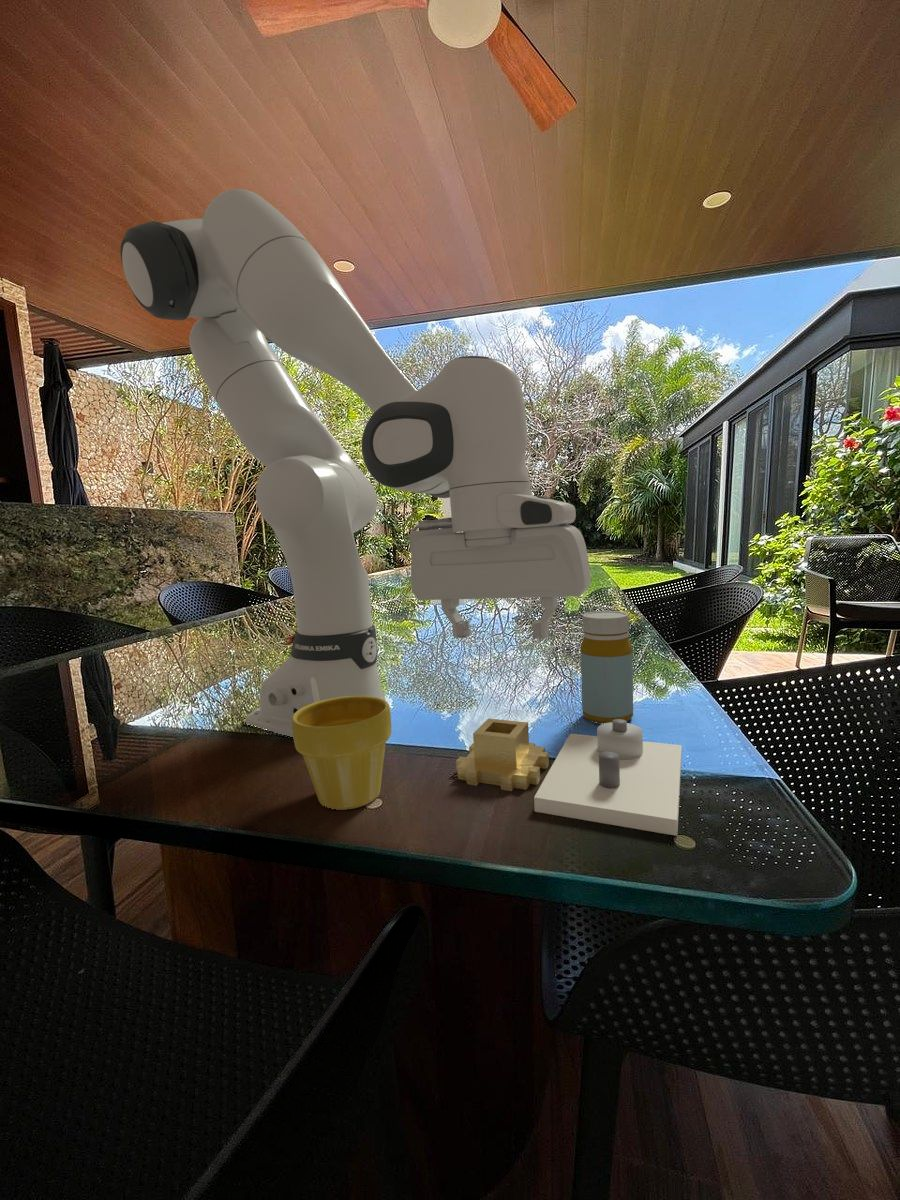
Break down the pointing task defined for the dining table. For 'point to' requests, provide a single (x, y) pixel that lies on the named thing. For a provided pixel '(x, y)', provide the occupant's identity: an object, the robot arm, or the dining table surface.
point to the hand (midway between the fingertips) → (500, 637)
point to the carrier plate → (619, 803)
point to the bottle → (606, 667)
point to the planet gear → (502, 756)
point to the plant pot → (344, 748)
